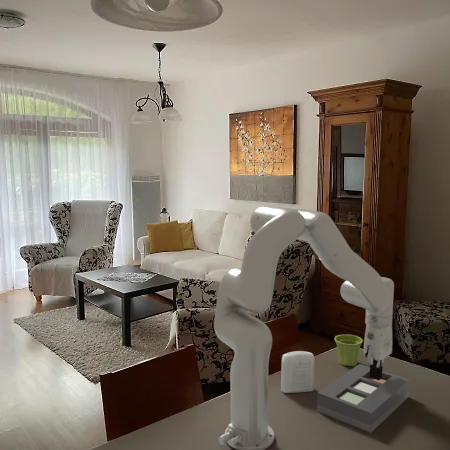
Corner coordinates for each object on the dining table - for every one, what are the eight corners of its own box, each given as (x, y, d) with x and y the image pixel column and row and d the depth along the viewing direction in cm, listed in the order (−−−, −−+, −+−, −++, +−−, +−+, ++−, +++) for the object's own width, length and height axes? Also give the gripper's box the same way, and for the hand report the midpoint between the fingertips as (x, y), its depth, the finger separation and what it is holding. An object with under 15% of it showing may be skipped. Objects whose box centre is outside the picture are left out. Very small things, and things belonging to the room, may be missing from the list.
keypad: (370, 433, 119) (371, 413, 118) (317, 411, 129) (317, 392, 129) (408, 396, 137) (409, 379, 136) (358, 380, 148) (359, 363, 147)
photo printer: (311, 385, 144) (311, 347, 143) (315, 392, 140) (316, 353, 139) (279, 388, 143) (279, 350, 141) (283, 394, 139) (283, 355, 137)
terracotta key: (381, 393, 135) (381, 388, 135) (363, 387, 138) (364, 382, 138) (389, 386, 139) (389, 381, 138) (372, 380, 142) (372, 376, 142)
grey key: (369, 400, 129) (369, 395, 129) (351, 393, 133) (351, 388, 132) (377, 392, 133) (378, 387, 133) (360, 386, 136) (360, 382, 136)
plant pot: (328, 360, 163) (329, 336, 162) (349, 355, 167) (350, 332, 166) (345, 370, 154) (346, 346, 153) (367, 365, 158) (368, 341, 157)
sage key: (355, 411, 123) (355, 406, 123) (337, 404, 127) (337, 399, 127) (365, 403, 127) (365, 398, 127) (346, 396, 131) (347, 391, 130)
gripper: (379, 328, 128) (376, 391, 130) (401, 316, 139) (398, 374, 141) (354, 322, 133) (352, 382, 135) (377, 310, 144) (374, 366, 146)
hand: (375, 378), depth 138 cm, fingers closed
